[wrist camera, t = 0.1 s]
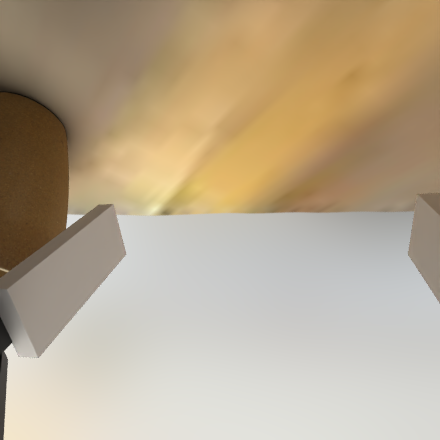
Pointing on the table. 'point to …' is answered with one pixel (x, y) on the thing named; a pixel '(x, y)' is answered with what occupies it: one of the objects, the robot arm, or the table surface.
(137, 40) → the table surface
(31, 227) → the plant pot
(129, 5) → the table surface
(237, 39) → the table surface
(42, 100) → the table surface
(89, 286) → the robot arm
